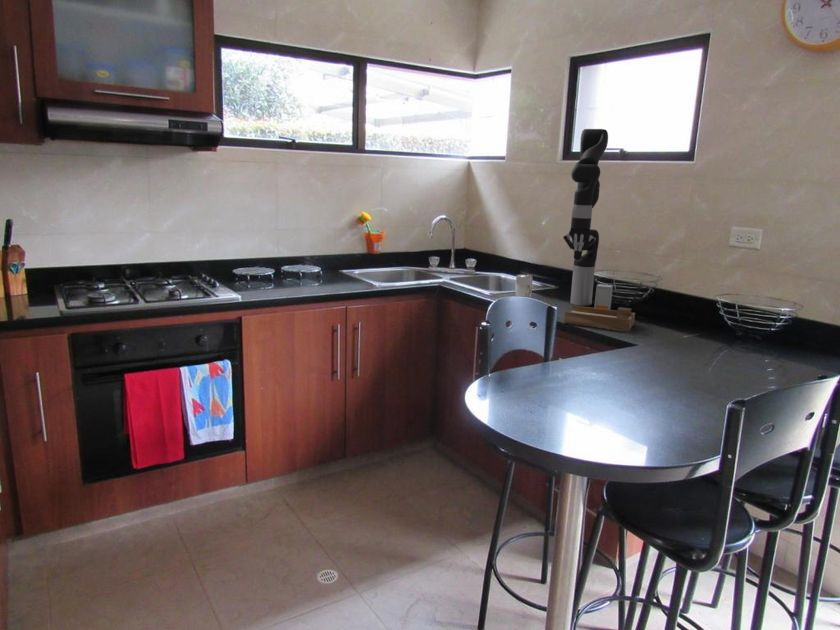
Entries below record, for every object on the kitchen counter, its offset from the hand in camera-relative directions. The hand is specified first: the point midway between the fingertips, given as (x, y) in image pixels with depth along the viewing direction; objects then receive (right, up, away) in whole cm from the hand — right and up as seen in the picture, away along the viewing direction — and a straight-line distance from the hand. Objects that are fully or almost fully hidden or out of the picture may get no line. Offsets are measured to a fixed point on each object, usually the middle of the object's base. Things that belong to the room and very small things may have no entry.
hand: (577, 260), depth 245 cm
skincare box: (+13, -21, +12) cm, 28 cm away
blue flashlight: (-20, -20, +11) cm, 31 cm away
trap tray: (+7, -25, -7) cm, 27 cm away
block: (+16, -23, -9) cm, 30 cm away
